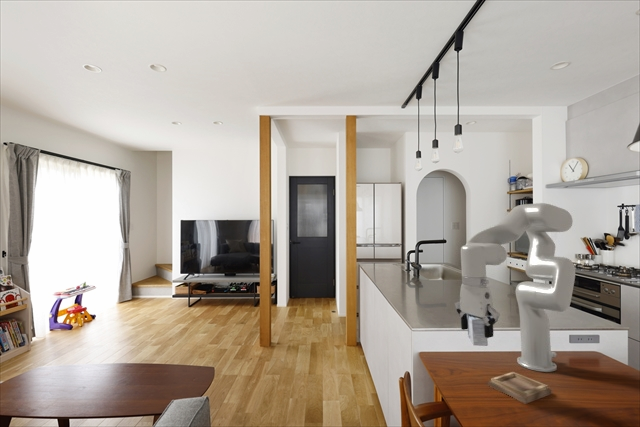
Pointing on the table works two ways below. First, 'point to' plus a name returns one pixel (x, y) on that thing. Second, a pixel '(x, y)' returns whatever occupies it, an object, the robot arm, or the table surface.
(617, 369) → the table surface
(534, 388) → the square wooden tray
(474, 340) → the medicine box
